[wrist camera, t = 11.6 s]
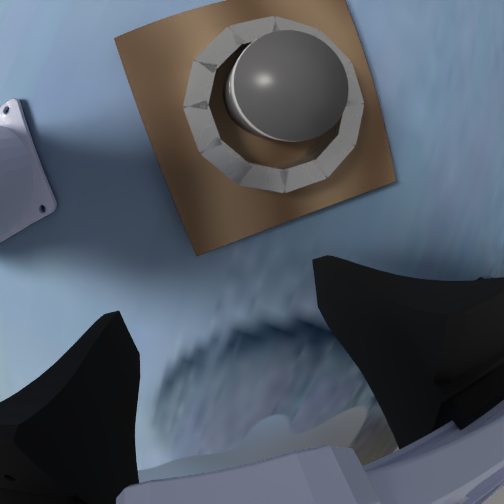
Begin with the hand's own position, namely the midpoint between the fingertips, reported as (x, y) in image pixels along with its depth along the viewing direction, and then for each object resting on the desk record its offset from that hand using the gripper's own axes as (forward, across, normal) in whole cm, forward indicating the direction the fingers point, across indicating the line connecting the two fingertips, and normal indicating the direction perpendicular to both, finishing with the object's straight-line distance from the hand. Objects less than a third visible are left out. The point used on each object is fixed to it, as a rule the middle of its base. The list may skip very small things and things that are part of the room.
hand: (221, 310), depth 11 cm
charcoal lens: (+8, -5, -7) cm, 12 cm away
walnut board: (+9, -5, -7) cm, 13 cm away
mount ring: (+8, -5, -7) cm, 12 cm away
